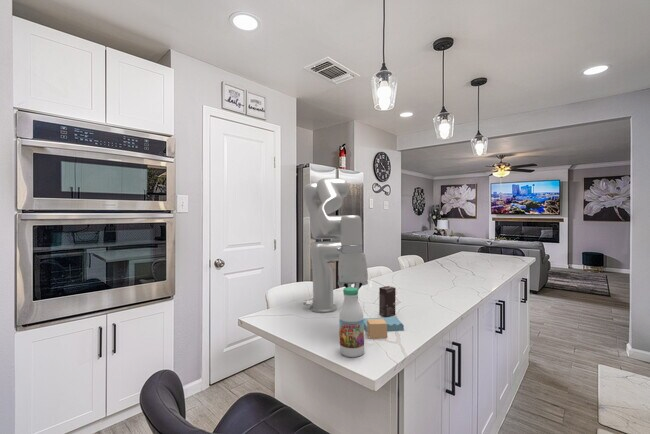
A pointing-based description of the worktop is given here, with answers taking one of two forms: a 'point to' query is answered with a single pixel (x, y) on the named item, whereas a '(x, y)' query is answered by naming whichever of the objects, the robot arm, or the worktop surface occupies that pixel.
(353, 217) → the robot arm
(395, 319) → the blue flat block
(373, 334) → the tan block
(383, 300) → the box
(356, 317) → the milk bottle
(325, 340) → the worktop surface
